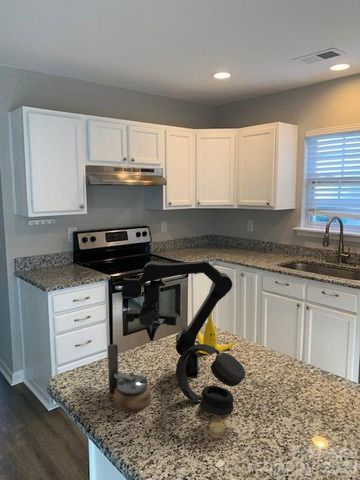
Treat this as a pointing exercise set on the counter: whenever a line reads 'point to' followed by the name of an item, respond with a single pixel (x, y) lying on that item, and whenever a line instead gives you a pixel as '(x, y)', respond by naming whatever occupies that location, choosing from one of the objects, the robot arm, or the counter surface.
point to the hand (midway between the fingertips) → (151, 340)
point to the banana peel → (211, 337)
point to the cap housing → (131, 400)
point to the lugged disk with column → (123, 377)
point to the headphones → (223, 370)
